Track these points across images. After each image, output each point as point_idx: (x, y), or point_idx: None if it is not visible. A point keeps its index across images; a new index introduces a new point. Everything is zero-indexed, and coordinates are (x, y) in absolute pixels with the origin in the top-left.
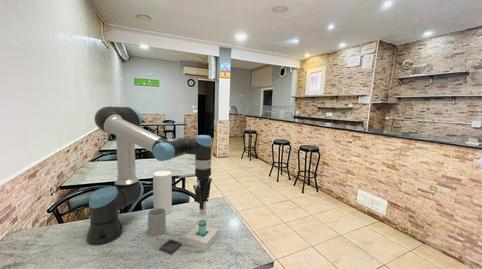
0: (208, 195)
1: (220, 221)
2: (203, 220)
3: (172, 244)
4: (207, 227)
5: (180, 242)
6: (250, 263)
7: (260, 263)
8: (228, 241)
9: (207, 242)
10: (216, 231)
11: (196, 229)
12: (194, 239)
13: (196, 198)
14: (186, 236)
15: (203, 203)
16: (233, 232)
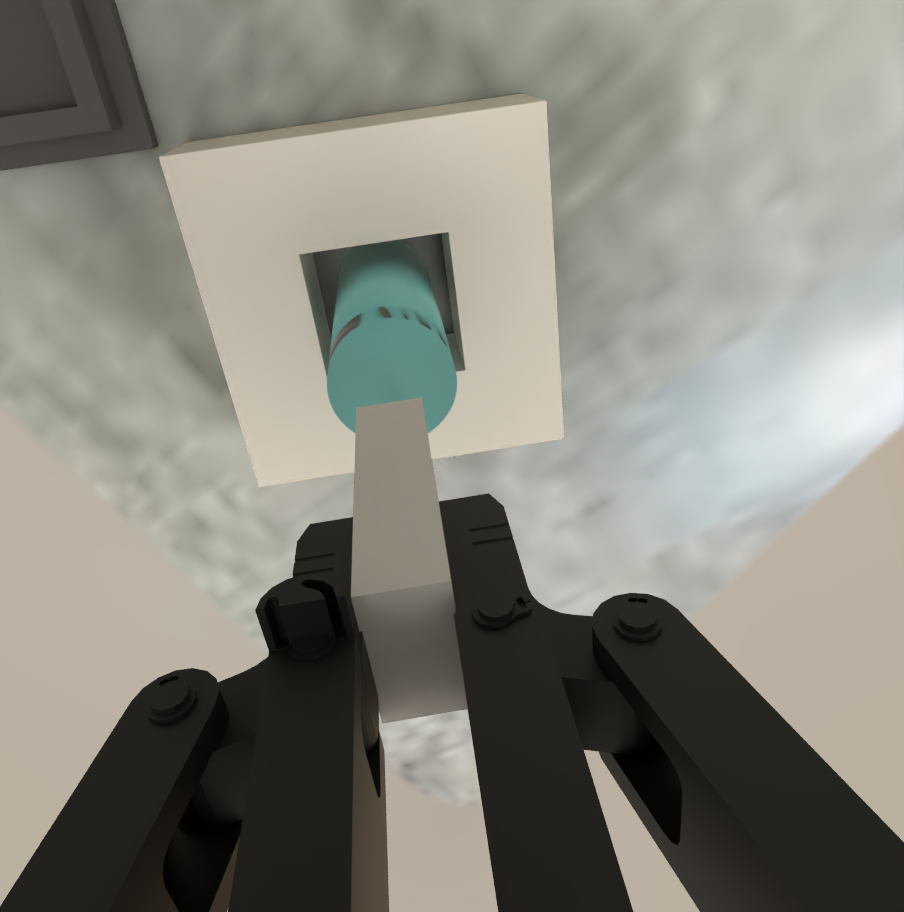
0: (667, 790)
1: (859, 214)
2: (429, 378)
3: (35, 4)
4: (532, 290)
5: (109, 123)
6: (386, 751)
7: (426, 789)
8: (526, 516)
9: (289, 477)
10: (514, 443)
11: (403, 184)
12: (213, 329)
13: (46, 868)
14: (178, 183)
15: (375, 683)
16: (688, 476)
